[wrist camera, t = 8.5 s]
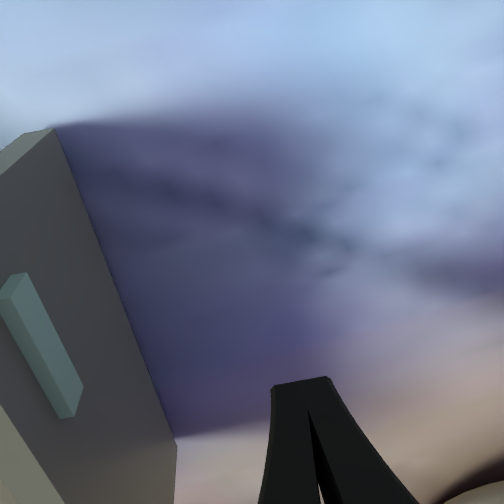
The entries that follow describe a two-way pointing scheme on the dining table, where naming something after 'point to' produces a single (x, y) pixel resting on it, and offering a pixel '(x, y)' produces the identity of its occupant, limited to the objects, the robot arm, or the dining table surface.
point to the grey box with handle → (69, 350)
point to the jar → (481, 495)
